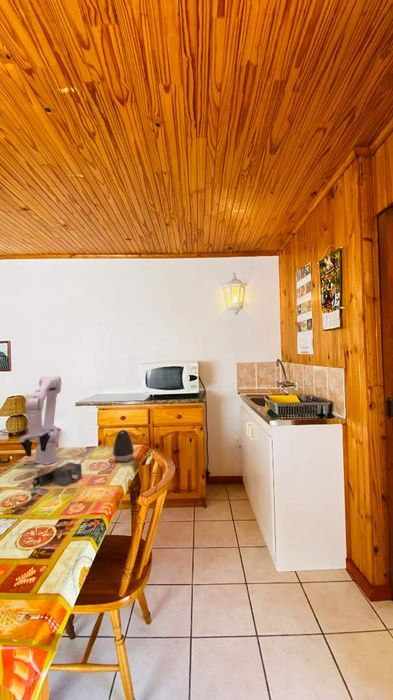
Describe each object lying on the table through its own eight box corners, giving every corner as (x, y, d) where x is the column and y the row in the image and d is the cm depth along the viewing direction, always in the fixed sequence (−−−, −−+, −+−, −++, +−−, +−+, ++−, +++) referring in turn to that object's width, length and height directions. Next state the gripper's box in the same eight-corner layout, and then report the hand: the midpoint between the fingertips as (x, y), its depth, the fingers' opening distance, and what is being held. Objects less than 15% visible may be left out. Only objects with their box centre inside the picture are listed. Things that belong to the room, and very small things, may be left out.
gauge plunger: (32, 488, 129) (32, 478, 129) (70, 471, 147) (70, 462, 147) (54, 493, 124) (54, 483, 124) (90, 474, 142) (90, 465, 142)
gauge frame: (21, 489, 130) (20, 475, 130) (57, 473, 146) (56, 460, 146) (47, 495, 123) (46, 480, 123) (81, 478, 140) (81, 464, 140)
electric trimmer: (69, 474, 146) (69, 467, 146) (36, 486, 133) (36, 479, 133) (64, 472, 148) (64, 466, 148) (31, 484, 135) (31, 477, 135)
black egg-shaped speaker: (109, 462, 158) (108, 432, 158) (120, 456, 168) (119, 427, 168) (127, 464, 155) (126, 433, 155) (137, 457, 165) (136, 428, 165)
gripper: (26, 428, 138) (27, 459, 138) (54, 421, 152) (55, 449, 151) (16, 427, 141) (17, 457, 141) (43, 420, 154) (44, 448, 154)
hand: (36, 453), depth 147 cm, fingers open, 7 cm apart
